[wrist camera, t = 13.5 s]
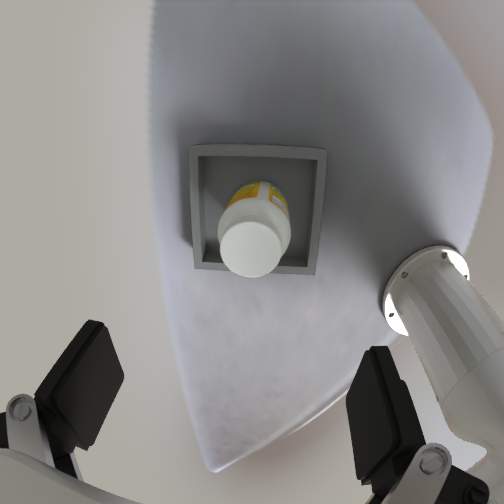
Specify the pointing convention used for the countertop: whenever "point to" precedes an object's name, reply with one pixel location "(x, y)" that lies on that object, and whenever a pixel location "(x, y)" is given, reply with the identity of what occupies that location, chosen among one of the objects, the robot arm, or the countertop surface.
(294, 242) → the tray
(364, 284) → the countertop surface
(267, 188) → the supplement bottle
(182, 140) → the countertop surface
